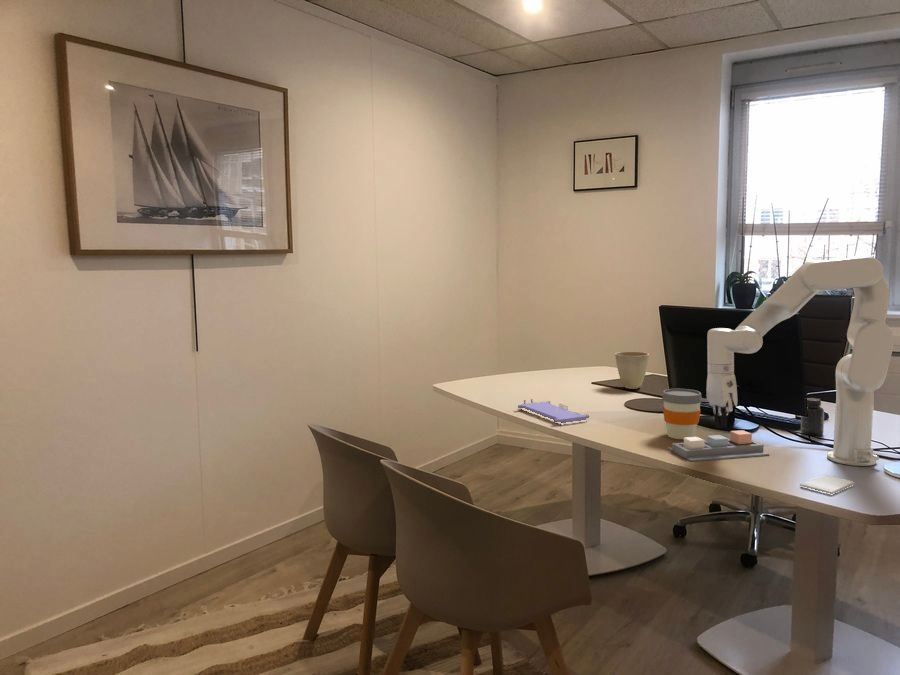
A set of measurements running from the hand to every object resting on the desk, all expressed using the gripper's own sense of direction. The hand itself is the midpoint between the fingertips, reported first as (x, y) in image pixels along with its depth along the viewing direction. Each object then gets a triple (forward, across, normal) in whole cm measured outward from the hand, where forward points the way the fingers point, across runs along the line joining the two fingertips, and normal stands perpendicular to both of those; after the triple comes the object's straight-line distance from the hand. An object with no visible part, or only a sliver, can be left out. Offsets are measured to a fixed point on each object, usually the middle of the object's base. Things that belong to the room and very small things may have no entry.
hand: (720, 427), depth 213 cm
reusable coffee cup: (+8, +20, +2) cm, 22 cm away
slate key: (+6, 0, +1) cm, 6 cm away
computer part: (+7, +59, +34) cm, 69 cm away
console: (+8, 0, +1) cm, 8 cm away
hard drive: (+10, -34, -9) cm, 37 cm away
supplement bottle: (+9, +12, -41) cm, 44 cm away
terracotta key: (+5, 0, -7) cm, 9 cm away
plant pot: (+7, +100, -18) cm, 101 cm away
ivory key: (+6, 0, +9) cm, 11 cm away
